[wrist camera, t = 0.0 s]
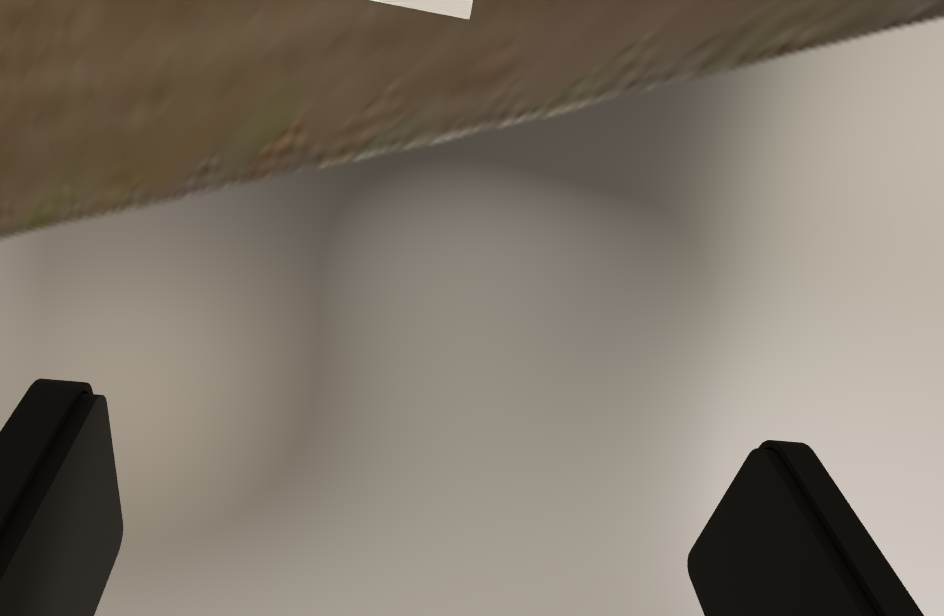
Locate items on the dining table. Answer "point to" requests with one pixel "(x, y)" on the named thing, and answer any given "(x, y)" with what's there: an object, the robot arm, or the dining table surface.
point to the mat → (437, 6)
